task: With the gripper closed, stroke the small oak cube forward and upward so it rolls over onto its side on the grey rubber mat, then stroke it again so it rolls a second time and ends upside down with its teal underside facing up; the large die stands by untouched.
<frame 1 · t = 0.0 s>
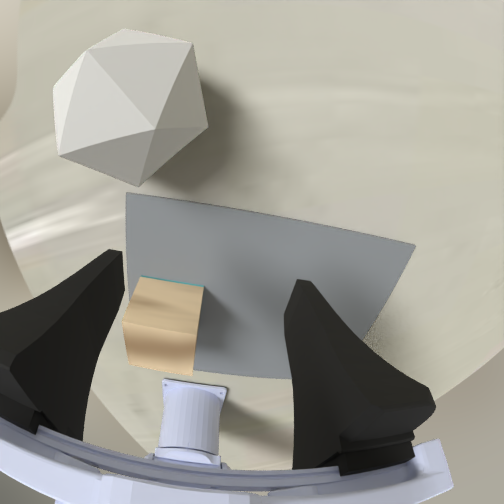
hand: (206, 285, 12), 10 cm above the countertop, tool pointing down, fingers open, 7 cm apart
die: (149, 98, 16), on the countertop
oak block: (170, 304, 25), resting on rubber mat
rubber mat: (258, 315, 27), on the countertop
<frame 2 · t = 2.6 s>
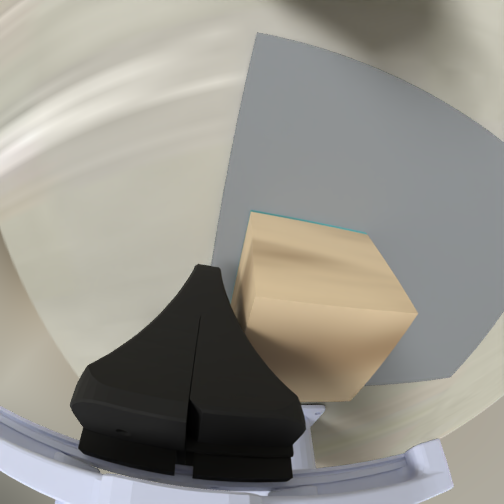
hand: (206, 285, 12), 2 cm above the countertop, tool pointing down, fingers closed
oak block: (295, 271, 14), resting on rubber mat, touching gripper
rubber mat: (418, 287, 15), on the countertop
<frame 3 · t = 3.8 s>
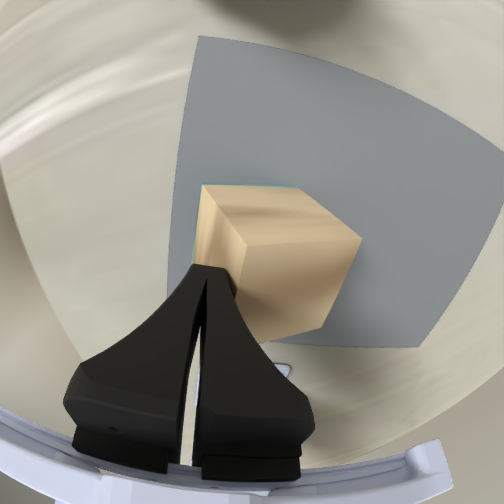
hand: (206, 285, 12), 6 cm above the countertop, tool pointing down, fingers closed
oak block: (242, 230, 16), point 1 cm above the countertop, tilted 23°, touching gripper, rubber mat
rubber mat: (360, 242, 18), on the countertop
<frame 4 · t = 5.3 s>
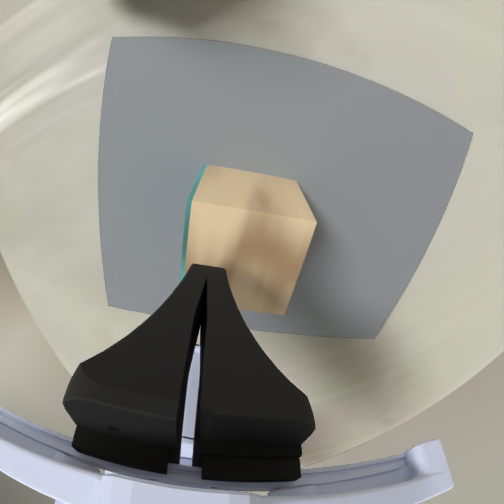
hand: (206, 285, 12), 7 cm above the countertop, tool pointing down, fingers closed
oak block: (190, 227, 15), point 3 cm above the countertop, tilted 90°, touching rubber mat
rubber mat: (280, 219, 19), on the countertop
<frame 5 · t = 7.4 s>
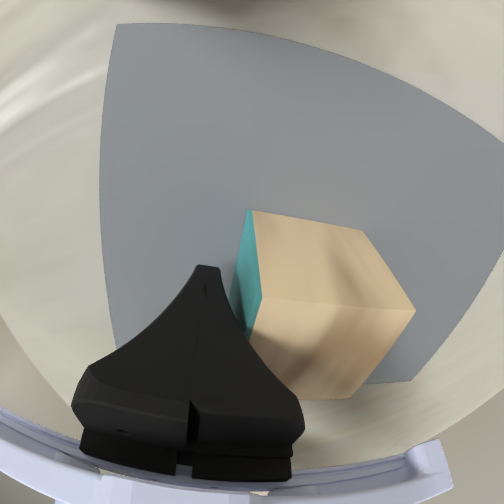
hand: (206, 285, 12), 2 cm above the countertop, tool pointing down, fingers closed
oak block: (236, 302, 11), point 3 cm above the countertop, tilted 91°, touching gripper, rubber mat
rubber mat: (337, 274, 15), on the countertop
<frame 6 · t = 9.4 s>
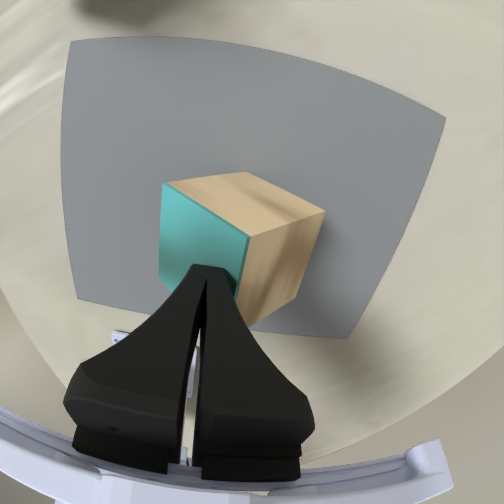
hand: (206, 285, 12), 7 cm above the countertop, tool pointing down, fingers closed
oak block: (191, 262, 13), point 6 cm above the countertop, tilted 135°, touching gripper, rubber mat
rubber mat: (233, 211, 18), on the countertop
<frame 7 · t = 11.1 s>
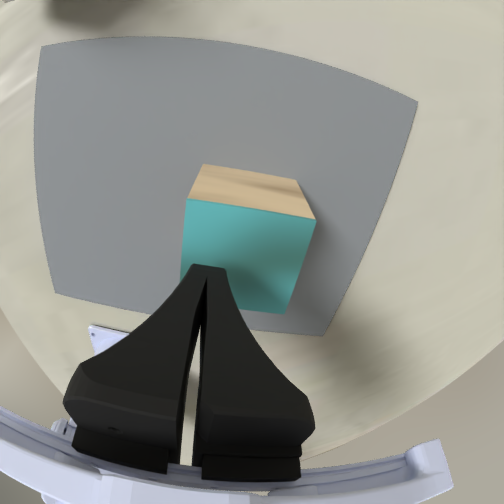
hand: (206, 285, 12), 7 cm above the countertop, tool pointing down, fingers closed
oak block: (241, 264, 13), point 6 cm above the countertop, tilted 180°, touching rubber mat
rubber mat: (194, 204, 18), on the countertop
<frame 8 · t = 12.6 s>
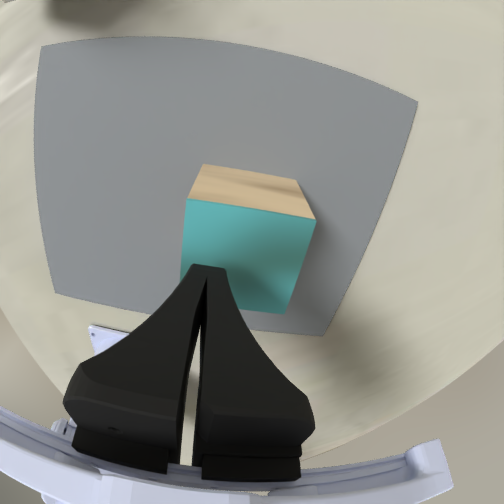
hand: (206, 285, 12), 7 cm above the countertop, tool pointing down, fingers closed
oak block: (241, 264, 13), point 6 cm above the countertop, tilted 180°, touching rubber mat
rubber mat: (194, 204, 18), on the countertop
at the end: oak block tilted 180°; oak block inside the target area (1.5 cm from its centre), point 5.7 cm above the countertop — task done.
